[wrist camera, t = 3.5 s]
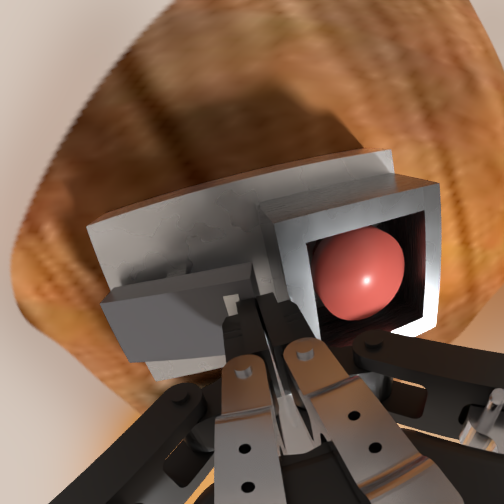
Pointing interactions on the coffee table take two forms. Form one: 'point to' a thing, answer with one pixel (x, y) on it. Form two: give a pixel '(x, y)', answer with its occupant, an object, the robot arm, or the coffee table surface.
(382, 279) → the button
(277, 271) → the grey switch box
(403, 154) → the coffee table surface
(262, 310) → the robot arm
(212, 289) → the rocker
